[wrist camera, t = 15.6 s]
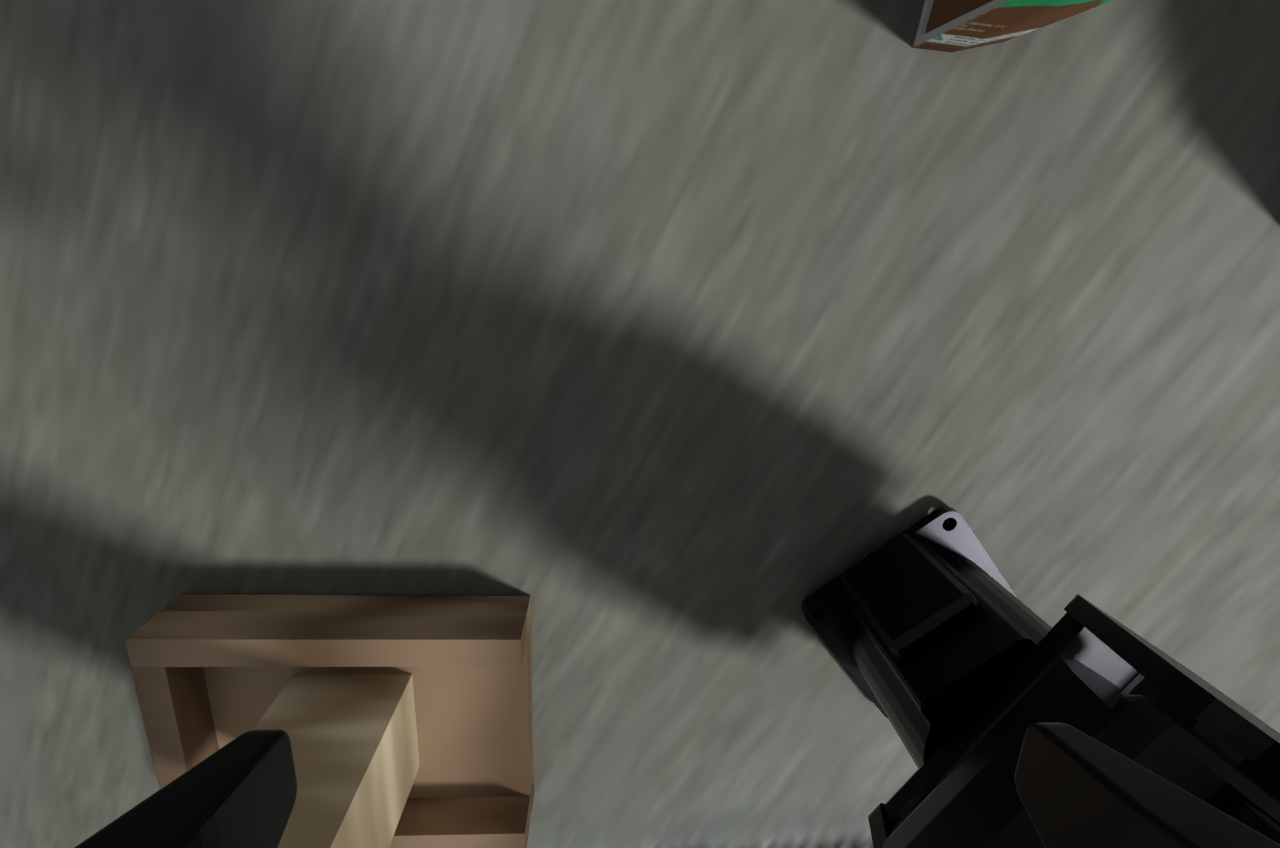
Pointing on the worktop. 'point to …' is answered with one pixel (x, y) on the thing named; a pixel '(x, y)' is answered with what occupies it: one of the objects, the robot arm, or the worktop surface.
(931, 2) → the food container
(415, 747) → the birch peg
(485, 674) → the walnut rack
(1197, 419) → the worktop surface
